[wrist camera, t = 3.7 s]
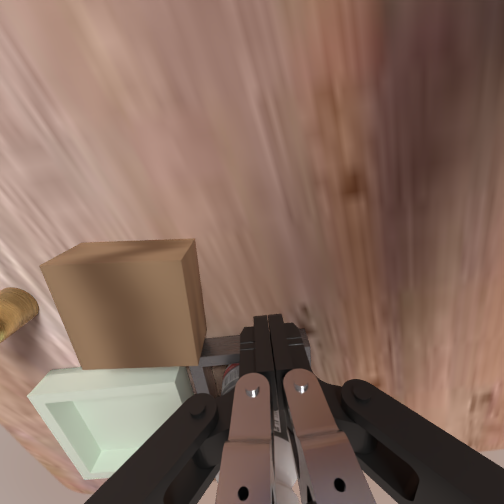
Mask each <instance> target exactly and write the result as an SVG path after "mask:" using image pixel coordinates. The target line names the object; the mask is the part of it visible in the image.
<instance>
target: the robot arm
mask: <svg viewBox="0 0 504 504" xmlns="http://www.w3.org/2000/svg"><path fill="white" fill-rule="evenodd" d="M253 318H254V326H253V327H244V329H243V331H242V332H241V334H240V359H239V379H238V381H237V383H236V385H235V387H234V388H233V389H232V390H231V391H229V392H228V393H226V394H224V395H222V396H219V397H217V398H215V399H214V397H213V396H211V395H210V394H207V393H198V394H195V395H193V396H191V397H190V398H188V399H187V400H186V401H185V402H184V403H183V404H182V405H181V406H180V407H179V408H178V409H177V410H176V411H175V412H174V413H173V414H172V415H171V416H170V417H169V418H168V419H167V420H166V421H165V422H164V423H163V424H162V425H161V426H160V427H159V428H158V429H157V430H156V431H155V432H154V433H153V434H152V435H151V436H150V437H149V438H148V439H147V440H146V441H145V443H144V444H143V445H142V446H141V447H140V448H139V449H138V450H137V451H136V452H135V453H134V454H133V455H132V456H131V457H130V458H129V459H128V460H127V461H126V462H125V463H124V464H123V465H122V466H121V467H120V468H119V469H118V470H117V471H116V472H115V473H114V474H113V475H112V476H111V477H110V478H109V479H108V480H107V481H106V482H105V483H104V484H103V485H102V486H101V487H100V488H99V489H98V490H97V491H96V492H95V493H94V494H93V495H92V496H91V497H90V498H89V499H88V500H87V501H86V502H85V503H84V504H197V503H198V502H199V500H200V499H201V497H202V496H203V494H204V493H205V491H206V490H207V488H208V487H209V485H210V484H211V483H212V481H213V480H214V478H215V477H216V475H217V474H218V472H219V471H220V473H219V480H218V488H217V495H216V502H215V504H277V497H276V475H275V445H274V427H275V420H274V411H278V407H277V397H278V404H279V410H284V411H285V418H286V429H287V434H288V438H289V443H290V447H291V452H292V456H293V461H294V465H295V470H296V474H297V479H298V484H299V489H300V495H301V502H302V504H376V502H375V499H374V497H373V495H372V492H371V490H370V488H369V486H368V483H367V481H366V479H365V476H364V474H363V472H362V470H363V471H364V472H365V473H366V474H367V475H368V476H369V477H370V478H371V479H372V480H374V481H375V482H376V483H377V484H378V485H379V486H380V487H381V488H382V489H383V490H384V491H386V493H388V494H389V495H390V496H391V497H392V498H393V499H394V500H395V501H396V502H397V503H398V504H504V469H503V468H502V467H500V466H499V465H497V464H495V463H494V462H493V461H491V460H489V459H488V458H486V457H485V456H483V455H482V454H480V453H478V452H477V451H475V450H474V449H472V448H471V447H469V446H467V445H466V444H464V443H463V442H461V441H460V440H458V439H456V438H455V437H453V436H452V435H450V434H449V433H447V432H445V431H444V430H442V429H441V428H439V427H438V426H436V425H434V424H433V423H431V422H430V421H428V420H427V419H425V418H423V417H422V416H420V415H419V414H417V413H416V412H414V411H412V410H411V409H409V408H408V407H406V406H405V405H403V404H401V403H400V402H398V401H397V400H395V399H394V398H392V397H390V396H389V395H387V394H386V393H384V392H383V391H381V390H379V389H378V388H376V387H375V386H373V385H372V384H370V383H368V382H366V381H363V380H359V379H353V380H349V381H347V382H345V383H344V385H343V386H342V387H341V386H336V385H331V384H328V383H325V382H323V381H321V380H320V379H318V378H317V377H316V376H315V375H314V373H313V372H312V370H311V367H310V363H309V360H308V357H307V354H306V350H305V347H304V345H303V341H302V338H301V334H300V331H299V329H298V327H297V326H296V325H295V324H294V323H284V322H283V318H282V314H273V315H268V320H267V315H263V316H254V317H253ZM268 322H269V327H268ZM269 333H270V335H269ZM275 382H276V384H275ZM276 389H277V395H276Z"/></svg>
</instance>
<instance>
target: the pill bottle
mask: <svg viewBox="0 0 504 504" xmlns="http://www.w3.org/2000/svg"><path fill="white" fill-rule="evenodd" d="M238 379H239V363H238V364H229V365H228V367H227V368H226V370H225V372H224V375H223V383H222V392H221V396H222V395H224V394H226V393H228V392H229V391H231V390H232V389H233V388H234V387H235V385H236V383H237V381H238ZM275 384H276V382H275ZM276 395H277V389H276ZM277 407H278V411H274V420H275V427H274V445H275V475H276V497H277V504H299V500H298V497H297V495H296V494H295V493H294V491H293V490H292V487H293V485H294V484H295V482H296V480H297V474H296V470H295V465H294V461H293V456H292V452H291V447H290V443H289V438H288V434H287V429H286V418H285V411H284V410H279V404H278V397H277ZM219 473H220V471H219V472H218V474H217V475H216V477H215V478H216V481H217V483H218V480H219Z"/></svg>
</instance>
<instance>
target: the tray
mask: <svg viewBox="0 0 504 504" xmlns="http://www.w3.org/2000/svg"><path fill="white" fill-rule="evenodd" d="M193 395H194V393H193V389H192V386H191V383H190V379H189V376H188V373H187V369H186V366H178V367H151V368H124V369H96V370H82V367H76V368H66V369H56V370H50V372H49V373H48V374H47V375H46V376H45V377H44V378H43V379H42V380H41V381H40V383H39V384H38V385H37V386H36V387H35V388H34V389H33V390H32V391H31V392H30V393H29V395H28V396H27V397H28V398H29V400H30V401H31V403H32V404H33V406H34V407H35V409H36V410H37V412H38V413H39V414H40V416H41V417H42V419H43V420H44V422H45V423H46V425H47V426H48V428H49V429H50V431H51V432H52V433H53V435H54V436H55V438H56V439H57V441H58V442H59V444H60V445H61V447H62V448H63V449H64V451H65V452H66V454H67V455H68V457H69V458H70V460H71V461H72V463H73V464H74V465H75V467H76V468H77V470H78V471H79V473H80V474H81V476H82V477H83V479H84V480H89V479H101V478H110V477H111V476H112V475H113V474H114V473H115V472H116V471H117V470H118V469H119V468H120V467H121V466H122V465H123V464H124V463H125V462H126V461H127V460H128V459H129V458H130V457H131V456H132V455H133V454H134V453H135V452H136V451H137V450H138V449H139V448H140V447H141V446H142V445H143V444H144V443H145V441H146V440H147V439H148V438H149V437H150V436H151V435H152V434H153V433H154V432H155V431H156V430H157V429H158V428H159V427H160V426H161V425H162V424H163V423H164V422H165V421H166V420H167V419H168V418H169V417H170V416H171V415H172V414H173V413H174V412H175V411H176V410H177V409H178V408H179V407H180V406H181V405H182V404H183V403H184V402H185V401H186V400H187V399H188V398H190V397H191V396H193Z"/></svg>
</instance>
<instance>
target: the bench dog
mask: <svg viewBox="0 0 504 504" xmlns="http://www.w3.org/2000/svg"><path fill="white" fill-rule="evenodd" d="M38 310H39V308H38V304H37V302H36V300H35V299H34V298H33V297H32V296H31V295H30V294H29V293H27V292H25V291H24V290H21V289H18V288H5V289H3V290H1V291H0V343H1V342H3V341H4V340H5V339H6V338H8V337H9V336H10V335H12V334H13V333H14V332H16V331H17V330H18V329H20V328H21V327H22V326H23V325H25V324H26V323H27V322H29V321H30V320H31V319H33V318H34V317H35V316H36V315H37V314H38Z"/></svg>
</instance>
